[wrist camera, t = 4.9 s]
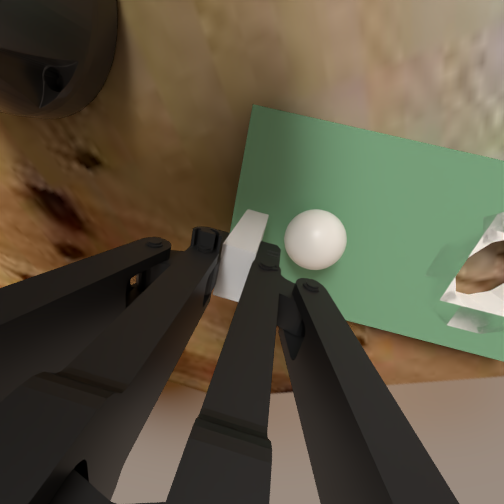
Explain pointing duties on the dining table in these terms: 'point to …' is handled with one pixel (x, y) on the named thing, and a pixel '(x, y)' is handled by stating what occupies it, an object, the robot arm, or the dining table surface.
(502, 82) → the dining table surface
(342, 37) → the dining table surface
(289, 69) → the dining table surface
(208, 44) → the dining table surface
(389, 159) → the green
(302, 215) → the ball
